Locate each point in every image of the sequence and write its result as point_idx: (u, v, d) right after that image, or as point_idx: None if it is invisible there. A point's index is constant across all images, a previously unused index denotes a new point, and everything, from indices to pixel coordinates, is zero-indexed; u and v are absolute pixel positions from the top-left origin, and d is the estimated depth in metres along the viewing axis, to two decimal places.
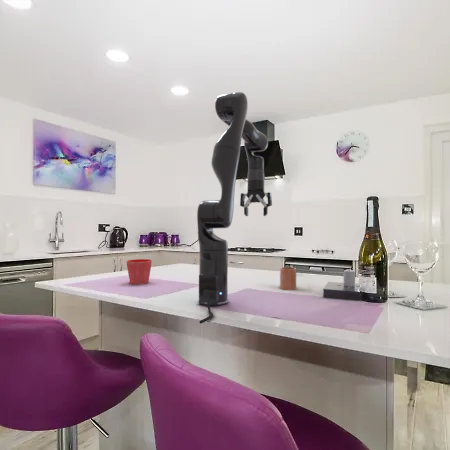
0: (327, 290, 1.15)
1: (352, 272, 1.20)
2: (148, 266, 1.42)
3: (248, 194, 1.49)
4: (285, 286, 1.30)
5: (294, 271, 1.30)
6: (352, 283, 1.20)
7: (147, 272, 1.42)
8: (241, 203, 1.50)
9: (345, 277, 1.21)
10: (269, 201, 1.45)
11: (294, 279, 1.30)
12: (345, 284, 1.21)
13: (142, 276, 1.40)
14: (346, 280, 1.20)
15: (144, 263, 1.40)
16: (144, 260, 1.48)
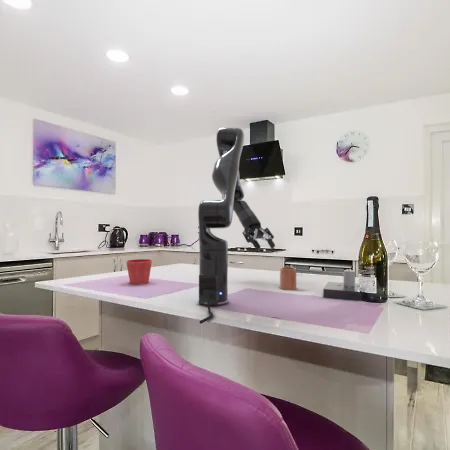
0: (327, 290, 1.15)
1: (352, 272, 1.20)
2: (148, 266, 1.42)
3: (251, 229, 1.44)
4: (285, 286, 1.30)
5: (294, 271, 1.30)
6: (352, 283, 1.20)
7: (147, 272, 1.42)
8: (250, 236, 1.40)
9: (345, 277, 1.21)
10: (271, 234, 1.48)
11: (294, 279, 1.30)
12: (345, 284, 1.21)
13: (142, 276, 1.40)
14: (346, 280, 1.20)
15: (144, 263, 1.40)
16: (144, 260, 1.48)
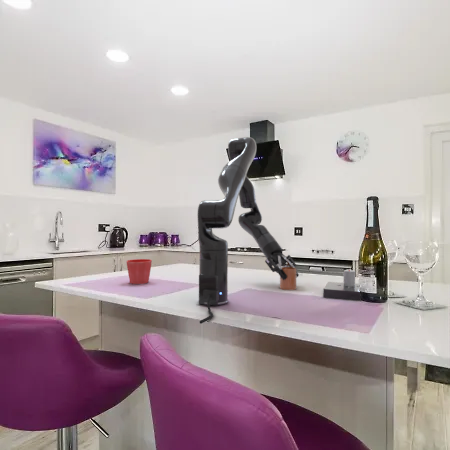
0: (327, 290, 1.15)
1: (352, 272, 1.20)
2: (148, 266, 1.42)
3: (274, 256, 1.34)
4: (285, 286, 1.30)
5: (294, 271, 1.30)
6: (352, 283, 1.20)
7: (147, 272, 1.42)
8: (275, 265, 1.30)
9: (345, 277, 1.21)
10: (293, 262, 1.38)
11: (294, 279, 1.30)
12: (345, 284, 1.21)
13: (142, 276, 1.40)
14: (346, 280, 1.20)
15: (144, 263, 1.40)
16: (144, 260, 1.48)
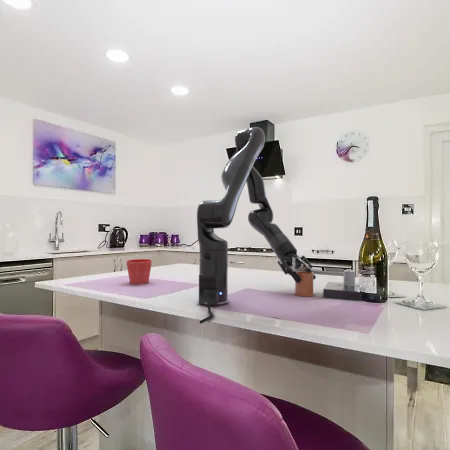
0: (327, 290, 1.15)
1: (352, 272, 1.20)
2: (148, 266, 1.42)
3: (288, 258, 1.22)
4: (301, 292, 1.17)
5: (311, 276, 1.18)
6: (352, 283, 1.20)
7: (147, 272, 1.42)
8: (288, 267, 1.17)
9: (345, 277, 1.21)
10: (309, 263, 1.26)
11: (311, 285, 1.18)
12: (345, 284, 1.21)
13: (142, 276, 1.40)
14: (346, 280, 1.20)
15: (144, 263, 1.40)
16: (144, 260, 1.48)
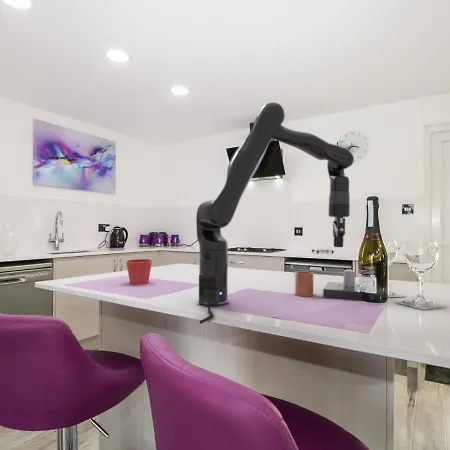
0: (327, 290, 1.15)
1: (352, 272, 1.20)
2: (148, 266, 1.42)
3: None
4: (301, 292, 1.17)
5: (311, 276, 1.18)
6: (352, 283, 1.20)
7: (147, 272, 1.42)
8: (333, 232, 1.31)
9: (345, 277, 1.21)
10: (337, 229, 1.18)
11: (311, 285, 1.18)
12: (345, 284, 1.21)
13: (142, 276, 1.40)
14: (346, 280, 1.20)
15: (144, 263, 1.40)
16: (144, 260, 1.48)
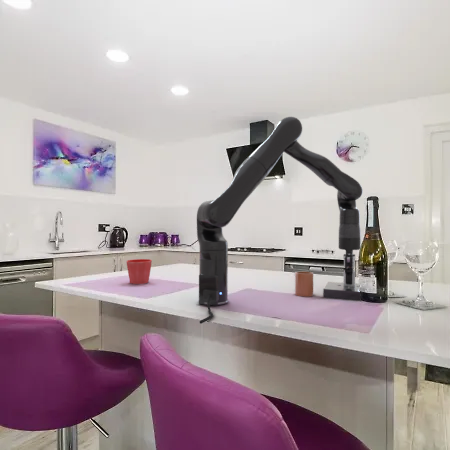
0: (327, 290, 1.15)
1: None
2: (148, 266, 1.42)
3: None
4: (301, 292, 1.17)
5: (311, 276, 1.18)
6: (352, 283, 1.20)
7: (147, 272, 1.42)
8: None
9: (345, 277, 1.21)
10: (345, 267, 1.17)
11: (311, 285, 1.18)
12: (345, 284, 1.21)
13: (142, 276, 1.40)
14: None
15: (144, 263, 1.40)
16: (144, 260, 1.48)
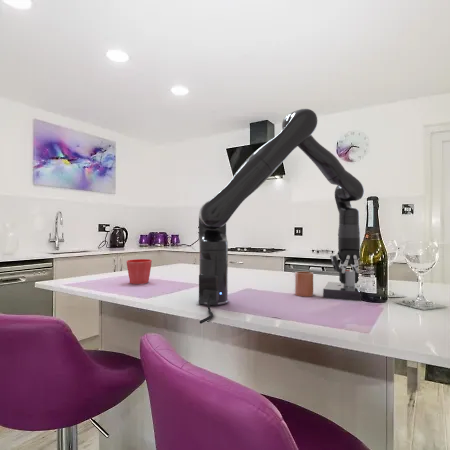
0: (327, 290, 1.15)
1: None
2: (148, 266, 1.42)
3: (342, 254, 1.20)
4: (301, 292, 1.17)
5: (311, 276, 1.18)
6: None
7: (147, 272, 1.42)
8: (338, 268, 1.20)
9: (354, 277, 1.21)
10: None
11: (311, 285, 1.18)
12: (354, 284, 1.21)
13: (142, 276, 1.40)
14: None
15: (144, 263, 1.40)
16: (144, 260, 1.48)
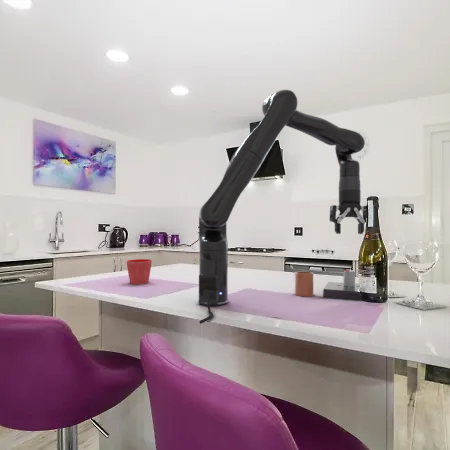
0: (327, 290, 1.15)
1: None
2: (148, 266, 1.42)
3: (342, 207, 1.20)
4: (301, 292, 1.17)
5: (311, 276, 1.18)
6: None
7: (147, 272, 1.42)
8: (334, 218, 1.19)
9: (354, 277, 1.21)
10: None
11: (311, 285, 1.18)
12: (354, 284, 1.21)
13: (142, 276, 1.40)
14: None
15: (144, 263, 1.40)
16: (144, 260, 1.48)
